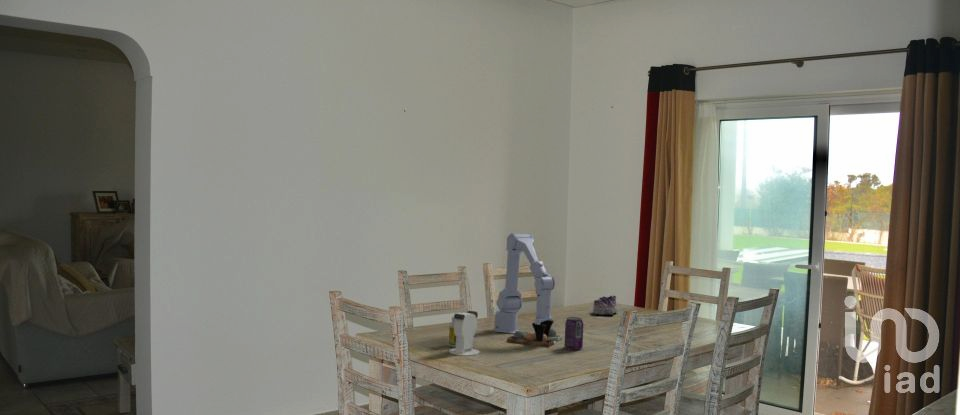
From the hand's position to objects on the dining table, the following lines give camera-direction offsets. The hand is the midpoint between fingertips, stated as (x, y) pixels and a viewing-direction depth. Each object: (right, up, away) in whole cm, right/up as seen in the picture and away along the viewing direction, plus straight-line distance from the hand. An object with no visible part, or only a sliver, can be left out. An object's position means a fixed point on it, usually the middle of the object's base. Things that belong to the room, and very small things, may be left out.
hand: (542, 339), depth 305 cm
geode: (+39, -1, +80) cm, 89 cm away
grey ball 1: (-9, +1, +4) cm, 10 cm away
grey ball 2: (+5, +1, +11) cm, 12 cm away
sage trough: (-1, -2, +11) cm, 11 cm away
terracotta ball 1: (-5, +1, +2) cm, 5 cm away
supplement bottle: (-34, -1, -8) cm, 35 cm away
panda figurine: (-31, -2, -18) cm, 36 cm away
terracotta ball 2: (0, 0, 0) cm, 0 cm away
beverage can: (+12, -3, -5) cm, 13 cm away
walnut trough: (-5, -2, +2) cm, 5 cm away
